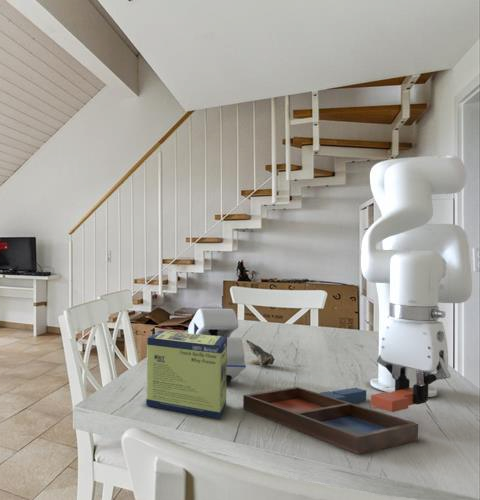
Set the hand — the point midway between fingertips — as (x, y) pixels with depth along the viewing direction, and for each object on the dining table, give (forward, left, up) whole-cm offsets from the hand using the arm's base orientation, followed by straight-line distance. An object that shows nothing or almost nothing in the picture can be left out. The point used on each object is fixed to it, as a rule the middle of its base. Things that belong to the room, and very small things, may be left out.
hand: (410, 399), depth 99 cm
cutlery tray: (+20, -5, -4) cm, 21 cm away
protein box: (+38, -23, -4) cm, 45 cm away
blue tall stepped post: (+4, -12, -4) cm, 13 cm away
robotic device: (+16, -37, -4) cm, 40 cm away
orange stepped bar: (+3, 0, 0) cm, 3 cm away
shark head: (-7, -43, -4) cm, 43 cm away
